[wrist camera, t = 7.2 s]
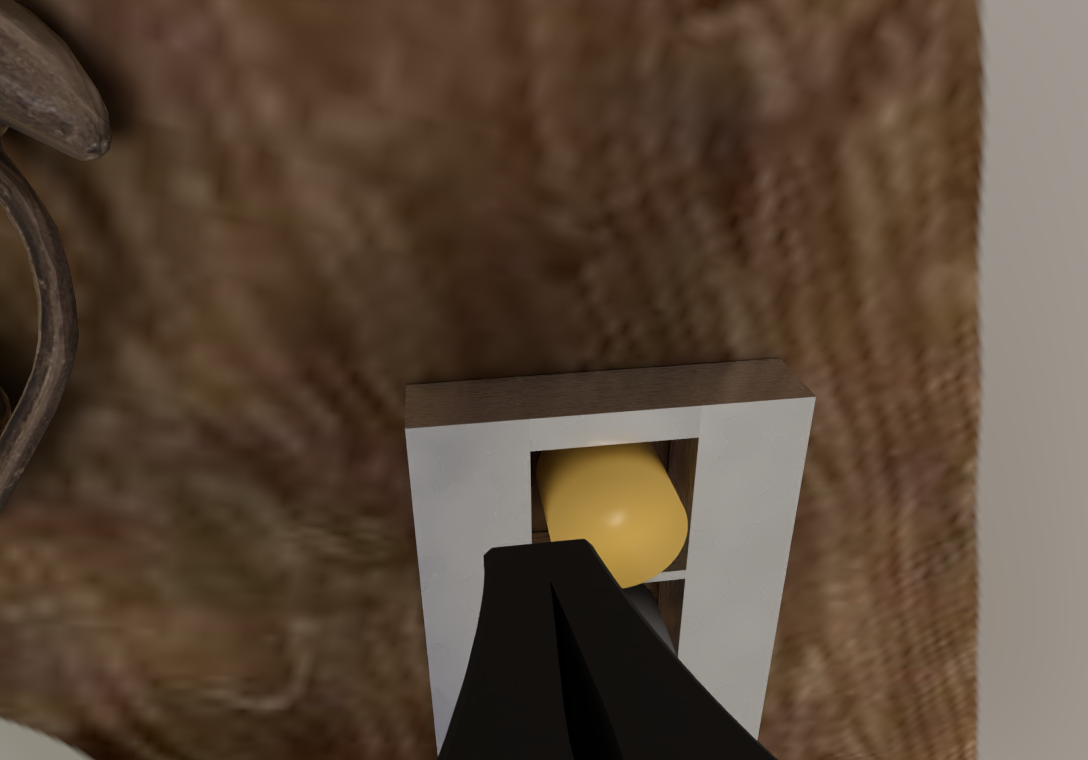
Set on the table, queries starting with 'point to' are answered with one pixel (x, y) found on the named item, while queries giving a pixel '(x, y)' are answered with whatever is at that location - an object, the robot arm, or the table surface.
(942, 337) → the table surface
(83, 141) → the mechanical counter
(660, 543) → the amber button
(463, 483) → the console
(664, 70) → the table surface
